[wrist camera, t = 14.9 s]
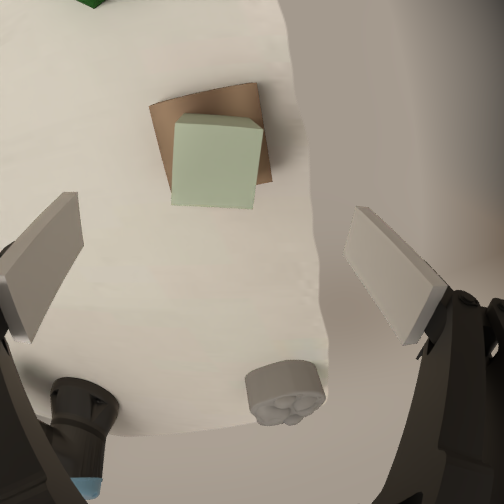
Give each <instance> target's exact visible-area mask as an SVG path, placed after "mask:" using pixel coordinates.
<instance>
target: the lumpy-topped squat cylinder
mask: <svg viewBox="0 0 504 504" xmlns="http://www.w3.org/2000/svg"><path fill="white" fill-rule="evenodd" d="M245 383H246V390H247V396H248V403H249V409H250V412H251V414H253V415H254V416H255V417H256V419H257V422H258V423H259V424H260V425H264V426H272V425H279V424H283V423H285V424H287V425H296V424H297V423H299V422H300V421H301V420H302V419H303V418H304V417H306V416H308V415H310V414H312V413H313V412H314V411H315V410H317V409H318V408H319V407H320V406H321V405H322V404H323V403H324V401H325V399H326V397H325V393H324V390H323V387H322V384H321V381H320V378H319V376H318V373H317V370H316V367H315V365H314V364H313V363H311V362H308V361H304V360H285V361H280V362H277V363H273V364H270V365H266V366H264V367H261V368H258V369H255V370H253V371H251V372H250V373H248V374H247V375H246V377H245Z"/></svg>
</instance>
